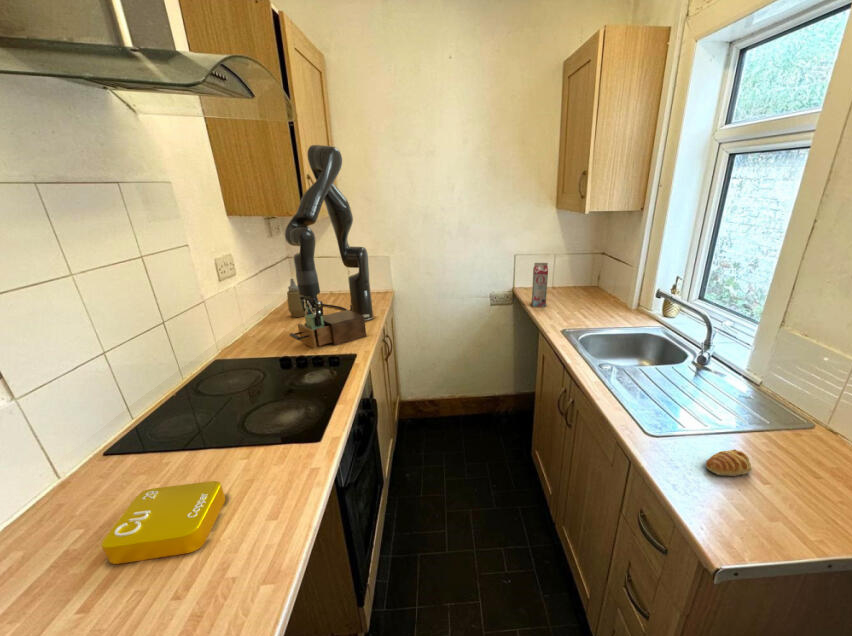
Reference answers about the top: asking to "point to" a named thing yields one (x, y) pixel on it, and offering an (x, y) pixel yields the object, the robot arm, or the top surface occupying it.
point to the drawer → (314, 335)
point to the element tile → (165, 522)
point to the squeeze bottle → (294, 300)
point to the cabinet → (345, 326)
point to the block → (312, 322)
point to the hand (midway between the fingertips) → (315, 324)
